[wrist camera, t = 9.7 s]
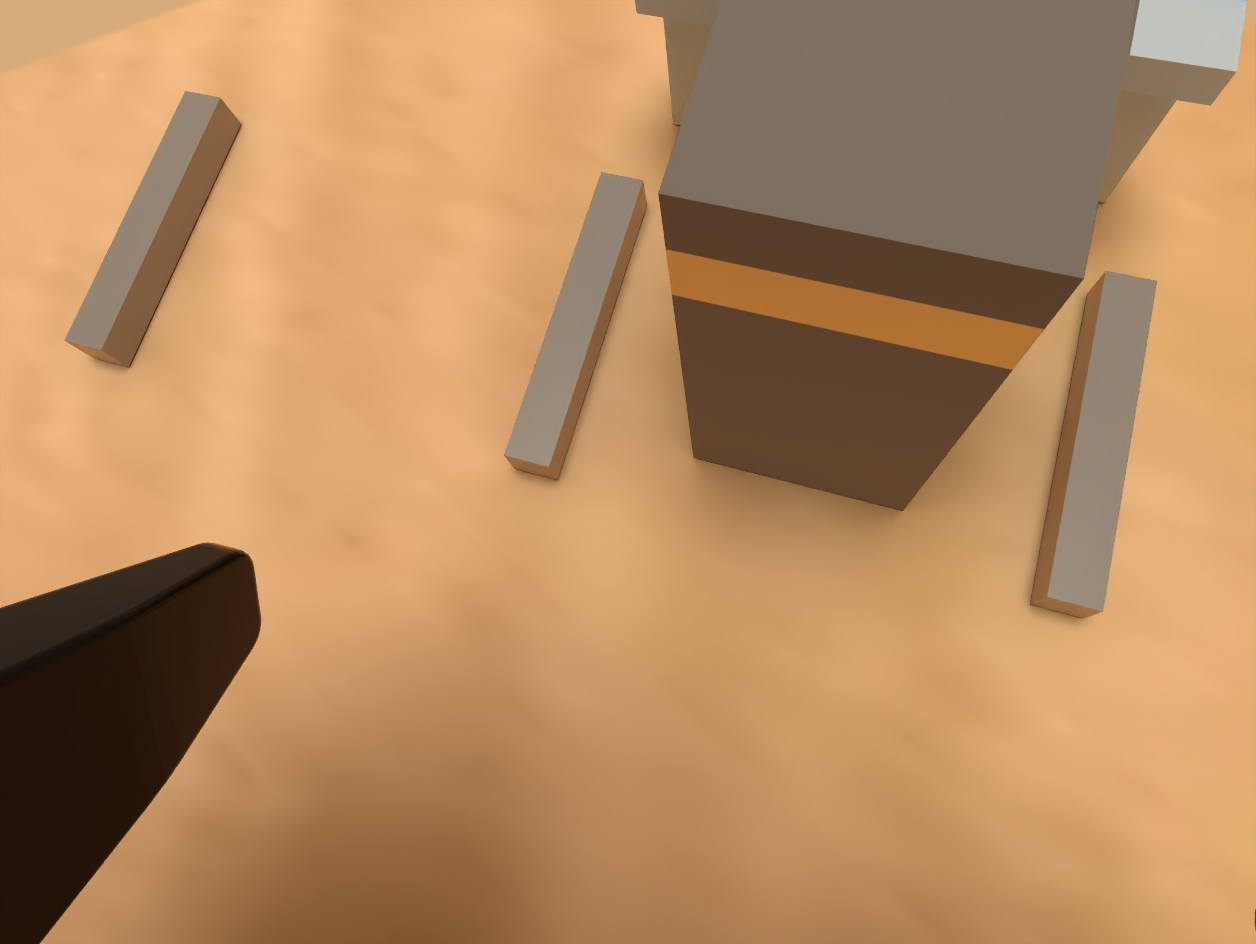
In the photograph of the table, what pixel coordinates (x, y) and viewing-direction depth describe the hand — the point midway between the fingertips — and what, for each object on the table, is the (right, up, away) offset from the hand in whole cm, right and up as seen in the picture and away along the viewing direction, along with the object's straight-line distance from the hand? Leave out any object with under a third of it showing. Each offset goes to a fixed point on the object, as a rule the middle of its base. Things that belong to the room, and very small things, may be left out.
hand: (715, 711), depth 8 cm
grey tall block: (+3, +4, +12) cm, 13 cm away
